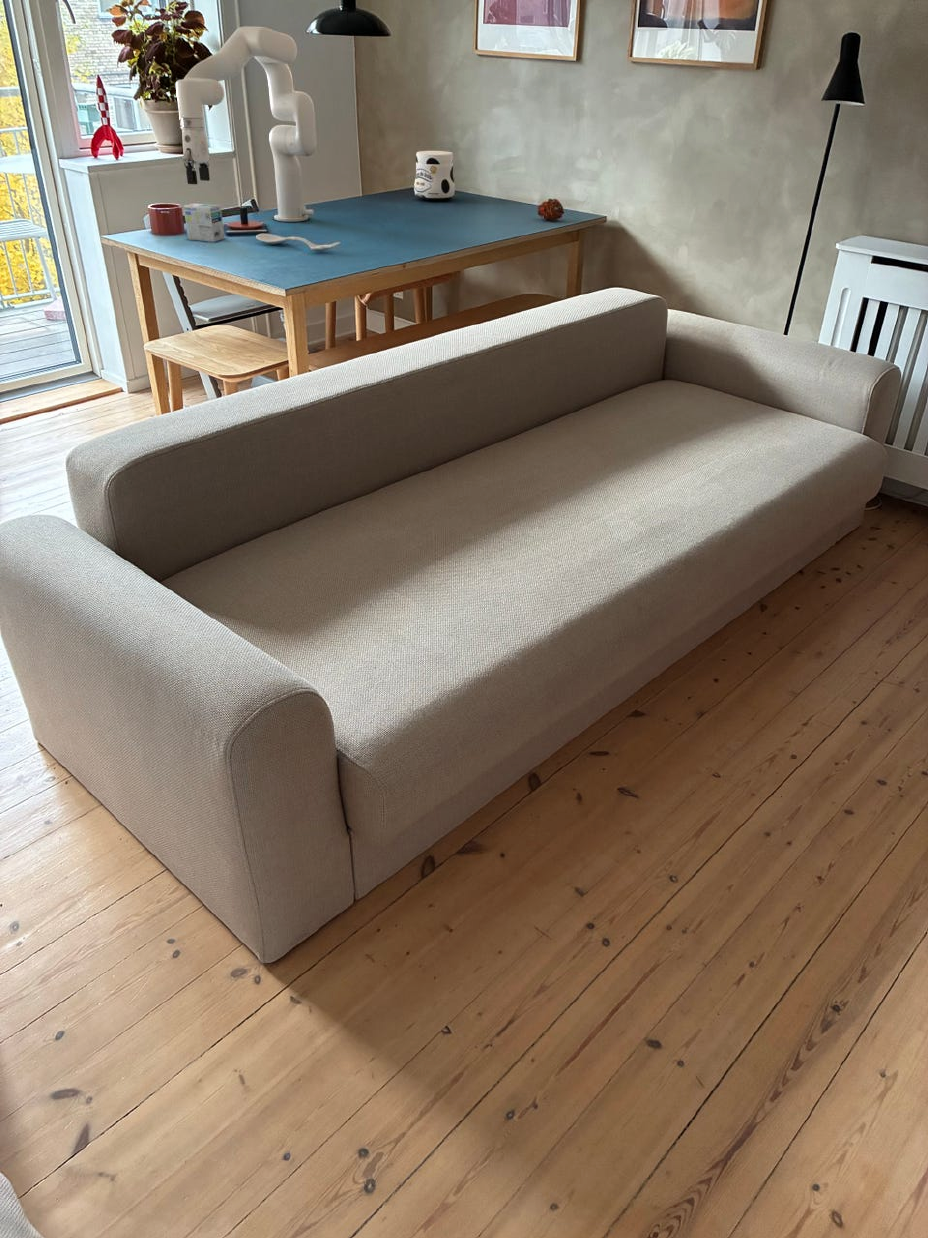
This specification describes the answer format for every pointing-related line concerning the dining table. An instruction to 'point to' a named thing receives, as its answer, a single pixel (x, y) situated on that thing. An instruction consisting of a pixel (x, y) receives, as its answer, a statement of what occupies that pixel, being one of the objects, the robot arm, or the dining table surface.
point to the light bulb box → (204, 222)
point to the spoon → (277, 240)
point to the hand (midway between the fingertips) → (198, 182)
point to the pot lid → (244, 221)
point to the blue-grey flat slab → (245, 231)
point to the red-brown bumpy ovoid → (551, 210)
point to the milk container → (434, 175)
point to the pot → (166, 219)
